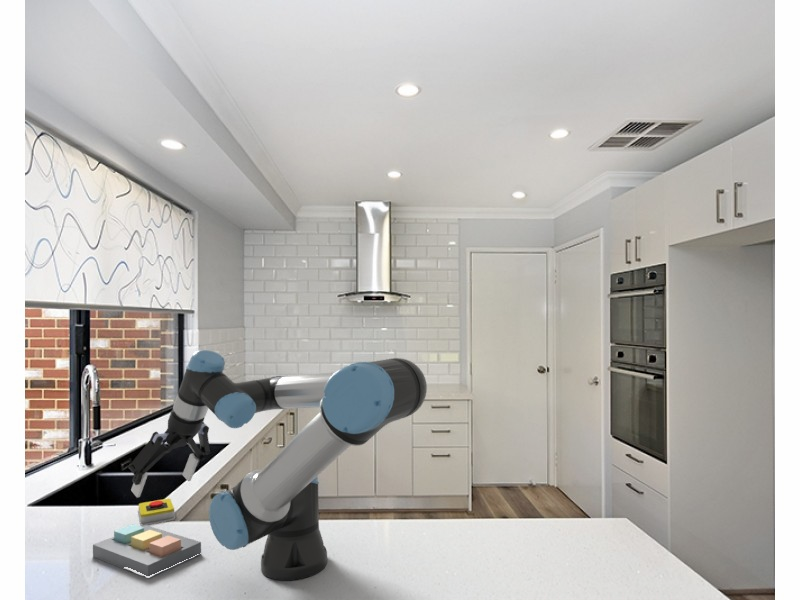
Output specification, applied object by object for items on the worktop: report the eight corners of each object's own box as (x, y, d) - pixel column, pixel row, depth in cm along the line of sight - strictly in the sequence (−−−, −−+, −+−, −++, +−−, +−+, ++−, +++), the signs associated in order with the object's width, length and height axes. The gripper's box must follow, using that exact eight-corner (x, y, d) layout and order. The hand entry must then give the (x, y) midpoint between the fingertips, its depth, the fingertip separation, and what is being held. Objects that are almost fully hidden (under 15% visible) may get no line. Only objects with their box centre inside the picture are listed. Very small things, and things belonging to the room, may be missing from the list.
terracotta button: (181, 552, 129) (180, 539, 129) (162, 560, 125) (161, 547, 125) (168, 547, 132) (168, 535, 132) (149, 555, 127) (149, 542, 127)
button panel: (201, 554, 132) (200, 542, 132) (148, 578, 120) (147, 565, 120) (145, 536, 144) (145, 525, 144) (92, 556, 132) (92, 544, 132)
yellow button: (162, 545, 133) (162, 533, 133) (143, 553, 129) (143, 540, 129) (150, 541, 136) (150, 529, 136) (131, 549, 131) (131, 536, 132)
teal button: (144, 539, 137) (144, 527, 137) (125, 547, 133) (125, 534, 133) (133, 535, 140) (132, 524, 140) (114, 543, 135) (114, 531, 136)
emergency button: (140, 512, 152) (137, 497, 165) (140, 528, 151) (137, 512, 165) (175, 506, 156) (170, 492, 169) (175, 521, 156) (170, 506, 169)
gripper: (223, 396, 137) (197, 463, 142) (129, 412, 116) (103, 490, 121) (240, 412, 134) (213, 480, 139) (147, 432, 113) (119, 511, 118)
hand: (162, 485), depth 130 cm, fingers open, 13 cm apart
